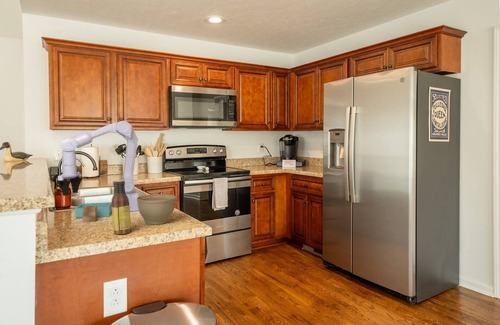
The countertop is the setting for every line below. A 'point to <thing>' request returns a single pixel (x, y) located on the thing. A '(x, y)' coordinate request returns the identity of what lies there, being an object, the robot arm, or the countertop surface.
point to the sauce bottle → (120, 209)
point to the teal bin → (102, 209)
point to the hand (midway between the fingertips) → (70, 194)
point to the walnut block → (89, 213)
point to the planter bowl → (156, 207)
